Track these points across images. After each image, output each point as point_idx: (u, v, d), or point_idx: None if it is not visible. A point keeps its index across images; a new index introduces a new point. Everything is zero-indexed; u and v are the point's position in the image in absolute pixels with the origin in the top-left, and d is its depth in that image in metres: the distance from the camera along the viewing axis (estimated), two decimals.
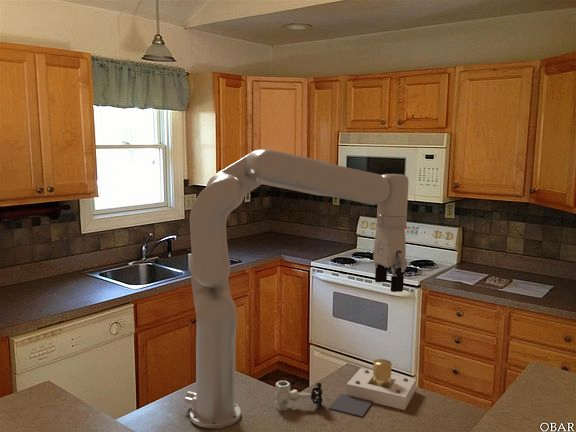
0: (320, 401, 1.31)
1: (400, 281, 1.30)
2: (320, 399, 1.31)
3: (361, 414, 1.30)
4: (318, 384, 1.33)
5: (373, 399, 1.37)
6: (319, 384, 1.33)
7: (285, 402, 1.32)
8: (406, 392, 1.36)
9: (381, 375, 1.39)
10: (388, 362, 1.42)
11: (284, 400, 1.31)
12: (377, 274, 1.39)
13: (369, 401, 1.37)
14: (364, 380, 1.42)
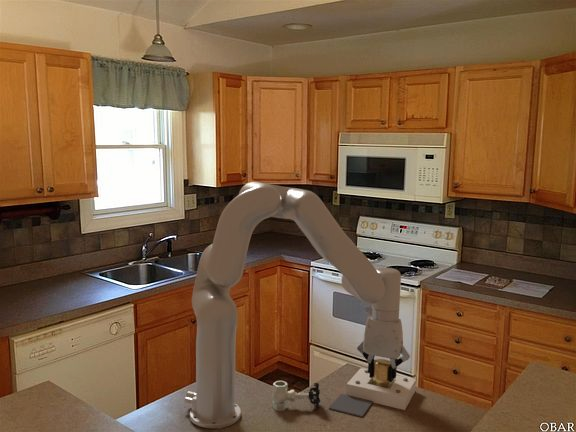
0: (317, 401, 1.31)
1: (396, 370, 1.40)
2: (317, 399, 1.31)
3: (361, 414, 1.30)
4: (315, 384, 1.33)
5: (373, 399, 1.37)
6: (316, 384, 1.33)
7: (282, 402, 1.32)
8: (406, 392, 1.36)
9: (381, 374, 1.40)
10: (388, 362, 1.42)
11: (282, 400, 1.31)
12: (372, 370, 1.42)
13: (369, 401, 1.37)
14: (364, 380, 1.42)
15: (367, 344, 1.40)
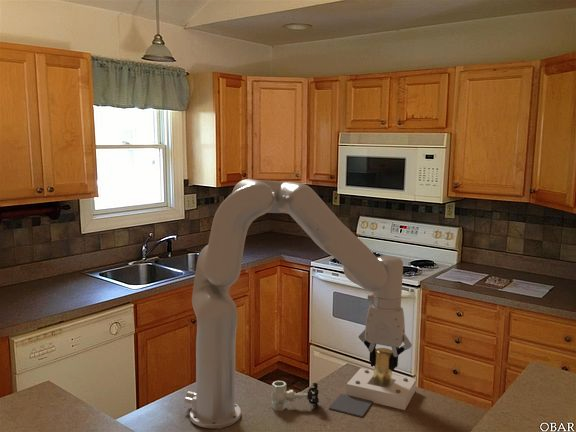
0: (316, 401, 1.31)
1: (397, 359, 1.40)
2: (316, 399, 1.31)
3: (361, 414, 1.30)
4: (314, 384, 1.33)
5: (373, 399, 1.37)
6: (315, 384, 1.33)
7: (281, 402, 1.32)
8: (406, 392, 1.36)
9: (383, 363, 1.39)
10: (390, 351, 1.41)
11: (281, 400, 1.31)
12: (373, 358, 1.41)
13: (369, 401, 1.37)
14: (364, 380, 1.42)
15: (369, 332, 1.39)
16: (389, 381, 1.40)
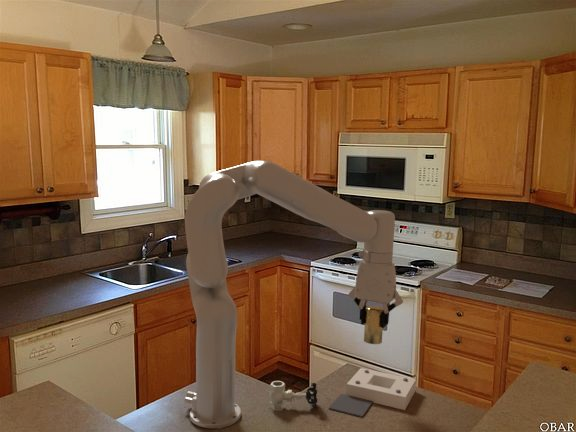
0: (315, 401, 1.31)
1: (388, 316, 1.36)
2: (315, 399, 1.31)
3: (361, 414, 1.30)
4: (313, 384, 1.33)
5: (373, 399, 1.37)
6: (314, 384, 1.33)
7: (280, 402, 1.32)
8: (406, 392, 1.36)
9: (373, 320, 1.35)
10: (380, 308, 1.37)
11: (279, 400, 1.31)
12: (364, 316, 1.37)
13: (369, 401, 1.37)
14: (364, 380, 1.42)
15: (359, 289, 1.36)
16: (380, 339, 1.36)
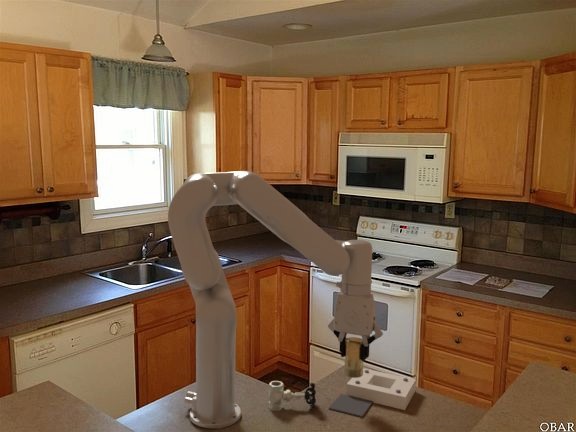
0: (313, 401, 1.31)
1: (368, 348, 1.32)
2: (313, 399, 1.31)
3: (361, 414, 1.30)
4: (312, 384, 1.33)
5: (373, 399, 1.37)
6: (313, 384, 1.33)
7: (278, 402, 1.32)
8: (406, 392, 1.36)
9: (353, 353, 1.31)
10: (360, 340, 1.34)
11: (278, 400, 1.31)
12: (343, 349, 1.33)
13: (369, 401, 1.37)
14: (364, 380, 1.42)
15: (338, 321, 1.32)
16: (360, 372, 1.32)
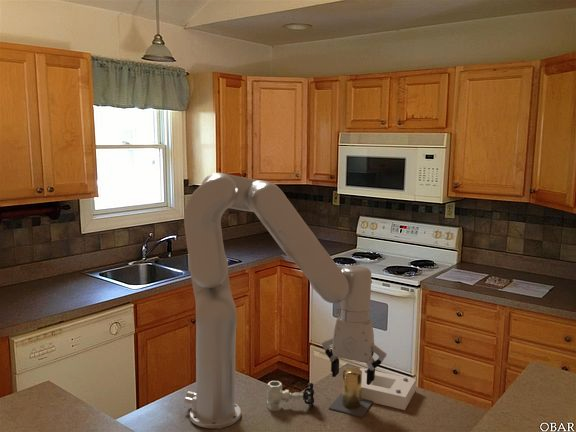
0: (312, 401, 1.30)
1: (374, 372, 1.32)
2: (312, 399, 1.31)
3: (361, 414, 1.30)
4: (310, 384, 1.33)
5: (373, 399, 1.37)
6: (311, 384, 1.33)
7: (277, 402, 1.31)
8: (406, 392, 1.36)
9: (351, 385, 1.32)
10: (358, 371, 1.34)
11: (276, 400, 1.31)
12: (335, 369, 1.35)
13: (369, 401, 1.37)
14: (364, 380, 1.42)
15: (336, 347, 1.33)
16: (358, 403, 1.33)
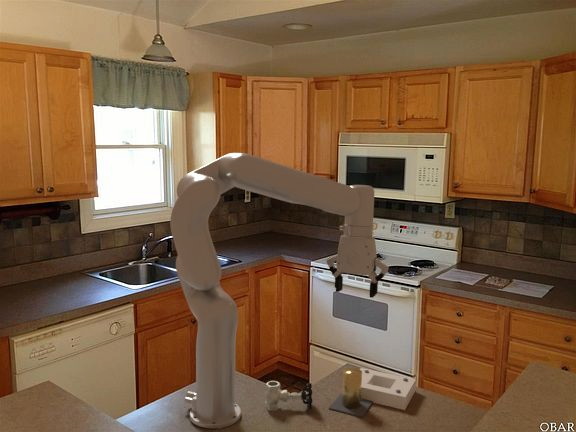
0: (310, 401, 1.30)
1: (377, 286, 1.37)
2: (310, 399, 1.31)
3: (361, 414, 1.30)
4: (308, 384, 1.33)
5: (373, 399, 1.37)
6: (309, 384, 1.33)
7: (275, 402, 1.31)
8: (406, 392, 1.36)
9: (351, 384, 1.32)
10: (358, 371, 1.34)
11: (274, 400, 1.31)
12: (338, 284, 1.41)
13: (369, 401, 1.37)
14: (364, 380, 1.42)
15: (340, 262, 1.38)
16: (358, 403, 1.33)
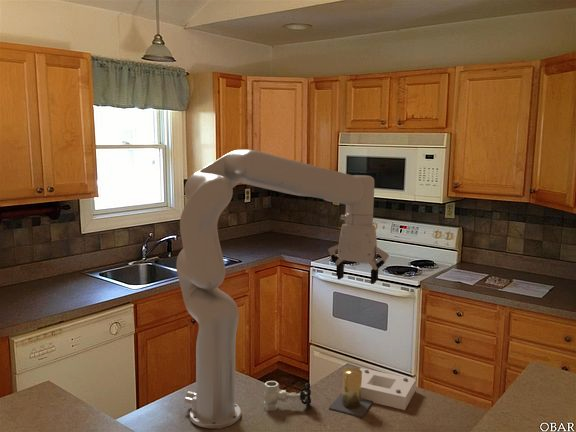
0: (309, 401, 1.30)
1: (377, 273, 1.42)
2: (309, 399, 1.31)
3: (361, 414, 1.30)
4: (307, 384, 1.33)
5: (373, 399, 1.37)
6: (308, 384, 1.33)
7: (274, 402, 1.31)
8: (406, 392, 1.36)
9: (351, 384, 1.32)
10: (358, 371, 1.34)
11: (273, 400, 1.31)
12: (340, 271, 1.45)
13: (369, 401, 1.37)
14: (364, 380, 1.42)
15: (342, 250, 1.43)
16: (358, 403, 1.33)
